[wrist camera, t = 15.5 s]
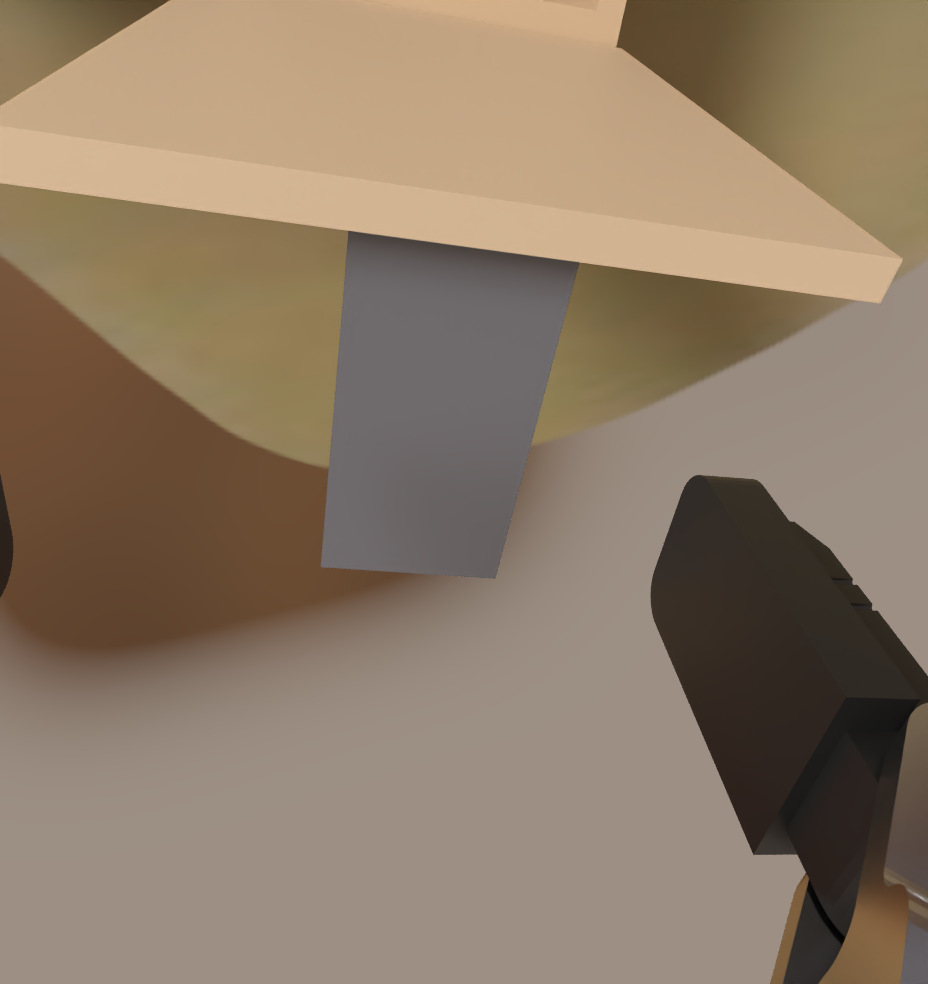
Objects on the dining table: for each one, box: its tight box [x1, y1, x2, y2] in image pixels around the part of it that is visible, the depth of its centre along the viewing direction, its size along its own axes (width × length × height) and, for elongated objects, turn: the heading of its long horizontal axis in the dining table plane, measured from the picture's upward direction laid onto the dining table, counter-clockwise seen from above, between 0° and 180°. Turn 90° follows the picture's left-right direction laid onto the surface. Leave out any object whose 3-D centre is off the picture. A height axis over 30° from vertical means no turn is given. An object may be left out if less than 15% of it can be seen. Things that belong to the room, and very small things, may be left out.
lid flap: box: [0, 0, 903, 579], centre depth 23 cm, size 20×14×9 cm
